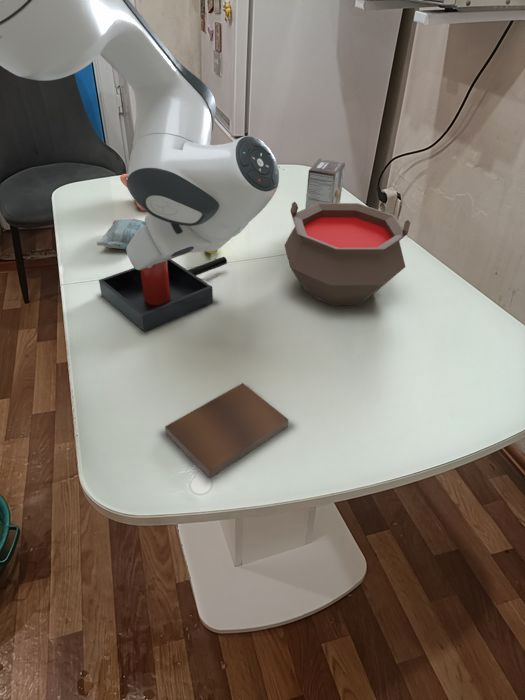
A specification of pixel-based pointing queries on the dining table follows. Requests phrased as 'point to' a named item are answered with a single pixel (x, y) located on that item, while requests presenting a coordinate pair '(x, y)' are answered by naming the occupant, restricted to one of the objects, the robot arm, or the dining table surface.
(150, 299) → the red cylinder
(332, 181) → the coffee box
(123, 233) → the packaged food
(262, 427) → the walnut board
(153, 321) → the steel pan
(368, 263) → the brown soup pot
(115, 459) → the dining table surface
